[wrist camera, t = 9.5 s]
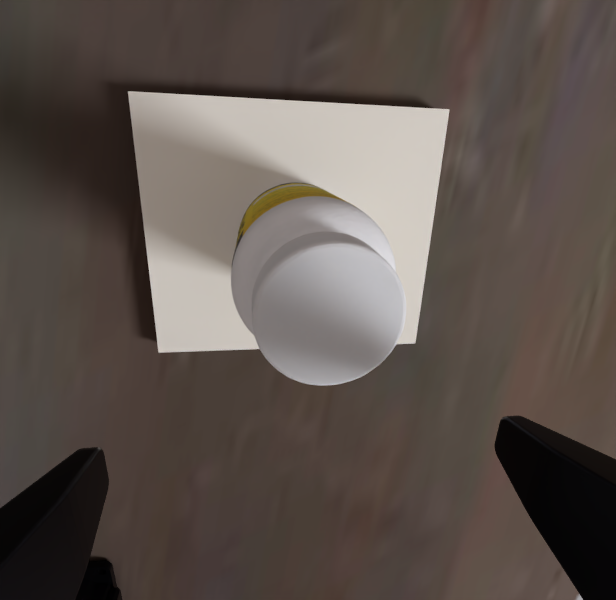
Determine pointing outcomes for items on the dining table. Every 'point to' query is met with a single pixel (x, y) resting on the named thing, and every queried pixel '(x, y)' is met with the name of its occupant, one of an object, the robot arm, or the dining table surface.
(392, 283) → the supplement bottle
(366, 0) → the dining table surface
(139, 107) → the ceramic tile
